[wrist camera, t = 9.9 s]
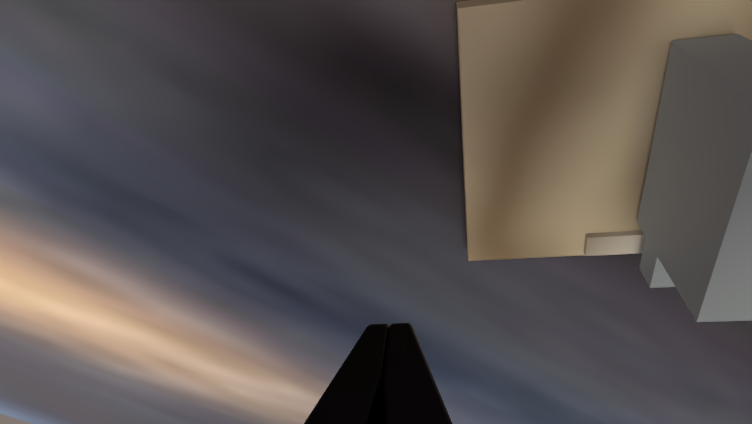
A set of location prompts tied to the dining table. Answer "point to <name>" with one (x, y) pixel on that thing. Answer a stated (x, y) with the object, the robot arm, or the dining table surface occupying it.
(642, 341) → the dining table surface
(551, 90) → the gauge board
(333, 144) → the dining table surface
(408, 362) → the robot arm
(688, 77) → the grey rectangular block
